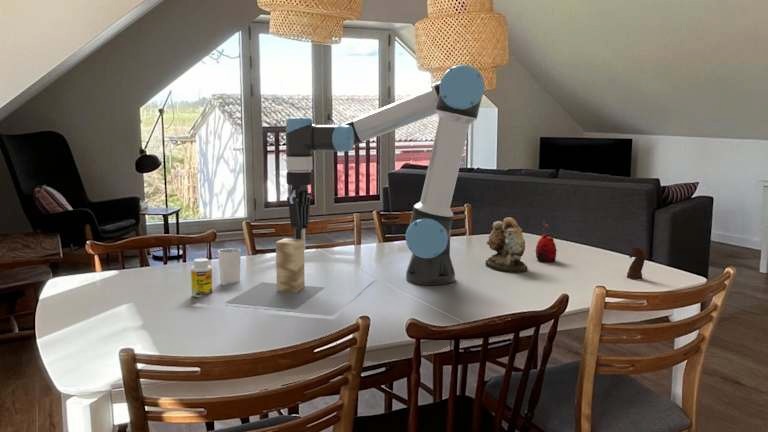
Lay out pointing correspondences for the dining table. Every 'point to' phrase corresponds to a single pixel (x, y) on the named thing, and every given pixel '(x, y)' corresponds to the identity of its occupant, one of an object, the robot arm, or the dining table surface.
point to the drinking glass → (229, 265)
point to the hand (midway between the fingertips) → (300, 250)
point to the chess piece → (636, 263)
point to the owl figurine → (506, 247)
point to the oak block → (290, 264)
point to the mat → (275, 296)
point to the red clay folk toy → (546, 248)
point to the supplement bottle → (201, 277)
